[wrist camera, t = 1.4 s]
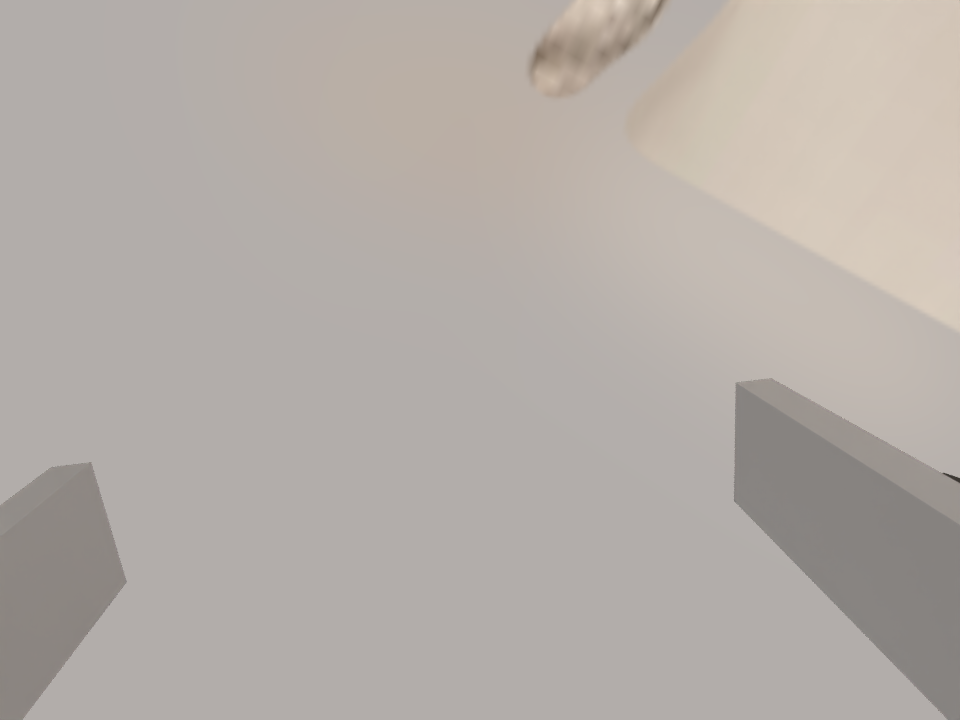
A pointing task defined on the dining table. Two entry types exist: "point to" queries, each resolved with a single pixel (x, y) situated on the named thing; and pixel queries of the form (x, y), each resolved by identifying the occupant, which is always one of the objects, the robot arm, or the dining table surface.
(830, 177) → the dining table surface
